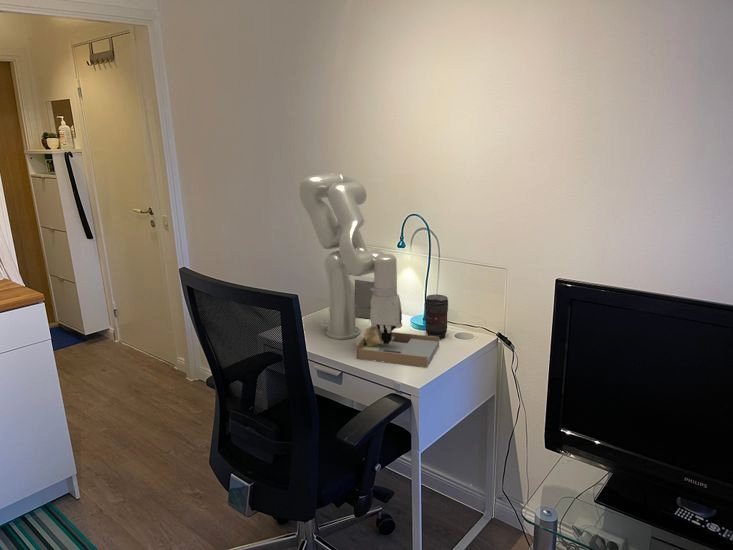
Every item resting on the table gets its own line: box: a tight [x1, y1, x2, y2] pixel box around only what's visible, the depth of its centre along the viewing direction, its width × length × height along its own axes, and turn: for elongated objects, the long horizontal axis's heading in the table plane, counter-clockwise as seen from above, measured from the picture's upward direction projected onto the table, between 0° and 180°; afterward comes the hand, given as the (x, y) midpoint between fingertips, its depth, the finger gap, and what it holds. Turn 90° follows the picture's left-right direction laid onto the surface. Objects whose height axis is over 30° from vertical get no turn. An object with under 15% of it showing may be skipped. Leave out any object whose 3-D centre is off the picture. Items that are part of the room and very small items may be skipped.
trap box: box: [355, 331, 440, 368], centre depth 192 cm, size 24×18×5 cm
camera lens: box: [424, 294, 449, 340], centre depth 204 cm, size 8×8×15 cm
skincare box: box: [354, 275, 374, 320], centre depth 227 cm, size 8×7×16 cm
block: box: [362, 326, 383, 347], centre depth 194 cm, size 5×5×5 cm
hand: (386, 342), depth 193 cm, fingers closed
